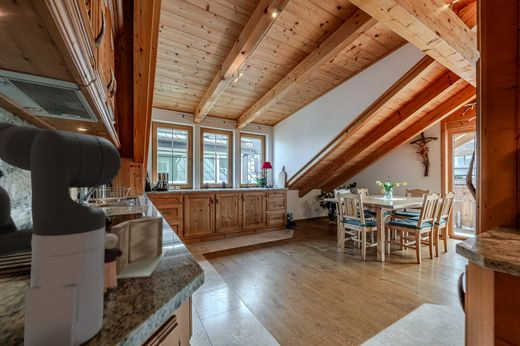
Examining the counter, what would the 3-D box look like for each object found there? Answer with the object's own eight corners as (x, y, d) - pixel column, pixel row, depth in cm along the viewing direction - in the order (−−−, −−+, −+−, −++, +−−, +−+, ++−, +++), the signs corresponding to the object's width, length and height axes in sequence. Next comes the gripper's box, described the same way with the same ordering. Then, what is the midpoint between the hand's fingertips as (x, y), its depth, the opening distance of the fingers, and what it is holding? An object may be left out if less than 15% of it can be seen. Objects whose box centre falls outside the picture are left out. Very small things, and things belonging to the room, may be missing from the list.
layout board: (149, 276, 59) (149, 274, 59) (100, 279, 57) (100, 277, 57) (168, 249, 81) (168, 247, 81) (134, 250, 79) (134, 249, 79)
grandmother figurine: (100, 297, 48) (102, 238, 49) (86, 295, 49) (87, 237, 50) (128, 281, 56) (129, 230, 56) (115, 280, 57) (116, 229, 57)
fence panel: (125, 263, 66) (126, 221, 66) (123, 261, 67) (124, 221, 67) (162, 254, 74) (162, 217, 74) (159, 252, 75) (160, 216, 75)
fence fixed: (117, 275, 58) (118, 227, 59) (109, 276, 58) (110, 227, 58) (128, 264, 66) (130, 221, 66) (122, 264, 66) (123, 221, 66)
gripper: (40, 232, 63) (109, 230, 66) (71, 222, 76) (127, 221, 79) (39, 259, 62) (108, 256, 65) (70, 245, 75) (127, 243, 78)
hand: (119, 237), depth 72 cm, fingers closed
